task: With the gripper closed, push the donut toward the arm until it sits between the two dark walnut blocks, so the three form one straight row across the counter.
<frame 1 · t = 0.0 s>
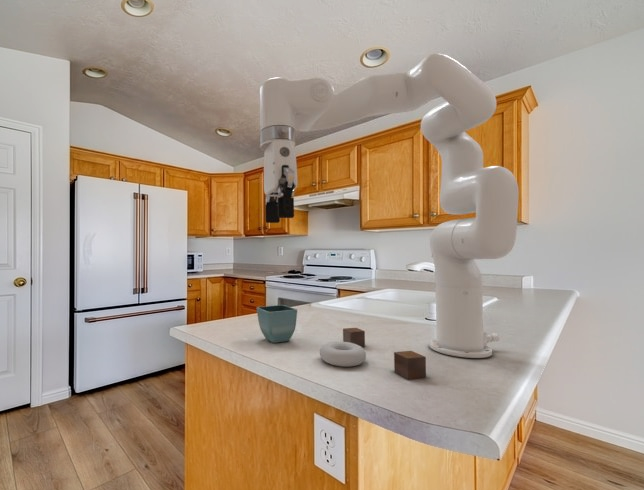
hand: (278, 220, 68), 31 cm above the countertop, tool pointing down, fingers open, 9 cm apart
walnut block 1: (353, 345, 83), on the countertop
flower pot: (277, 341, 88), on the countertop
walnut block 2: (409, 374, 62), on the countertop
donut: (342, 361, 71), on the countertop
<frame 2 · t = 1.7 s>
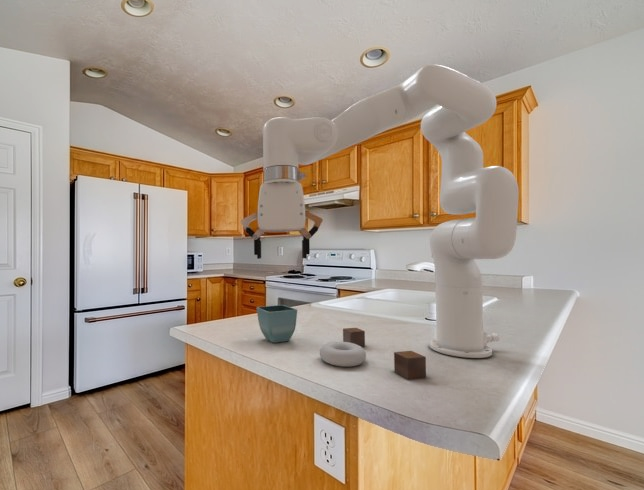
hand: (281, 258, 68), 23 cm above the countertop, tool pointing down, fingers open, 9 cm apart
nothing on the countertop moved.
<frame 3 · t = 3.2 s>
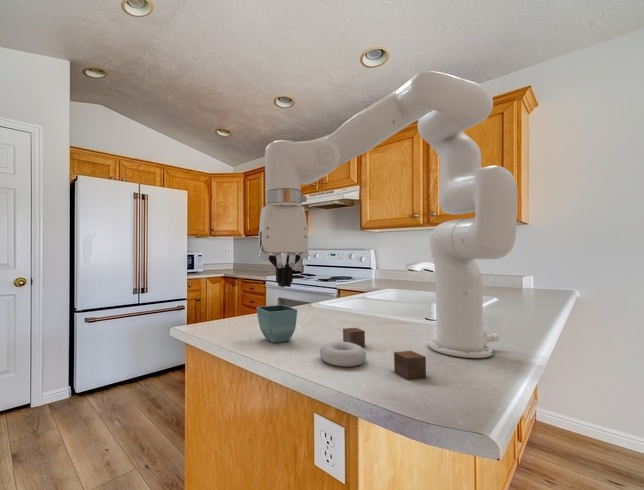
hand: (284, 286, 68), 17 cm above the countertop, tool pointing down, fingers closed
nothing on the countertop moved.
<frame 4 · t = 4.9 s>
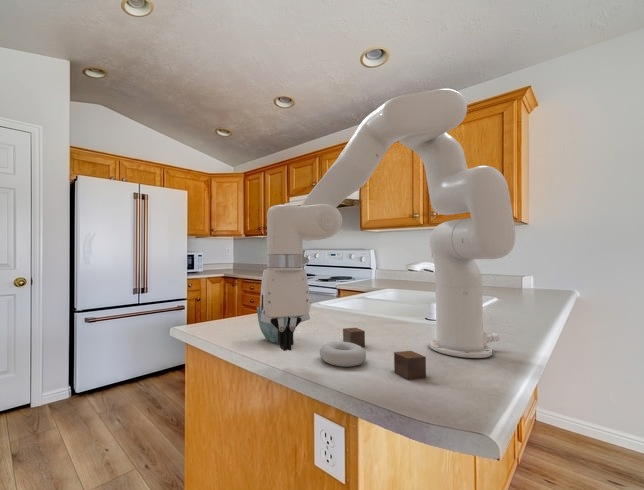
hand: (285, 348, 68), 4 cm above the countertop, tool pointing down, fingers closed
nothing on the countertop moved.
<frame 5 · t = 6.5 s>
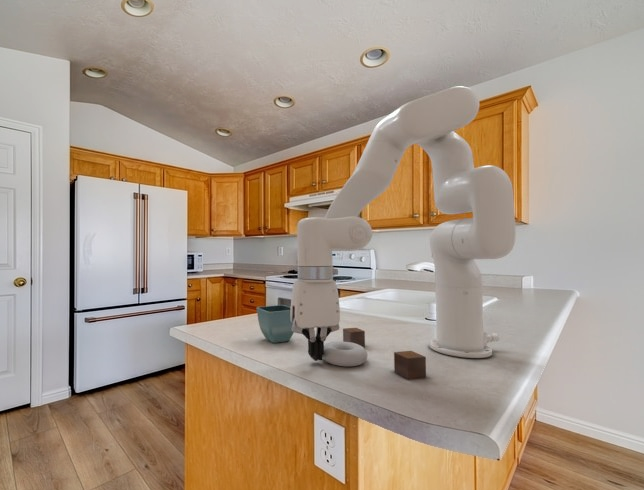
hand: (316, 358, 69), 1 cm above the countertop, tool pointing down, fingers closed
donut: (343, 361, 71), on the countertop, touching gripper
everything else where it was.
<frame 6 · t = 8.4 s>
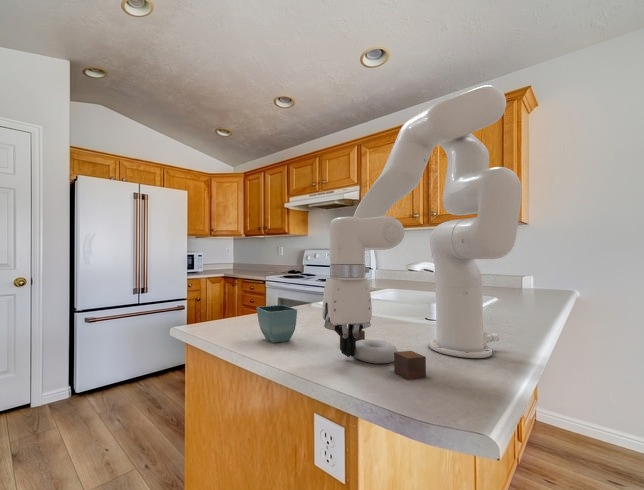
hand: (347, 354, 71), 1 cm above the countertop, tool pointing down, fingers closed
donut: (374, 359, 72), on the countertop, touching gripper
everything else where it was.
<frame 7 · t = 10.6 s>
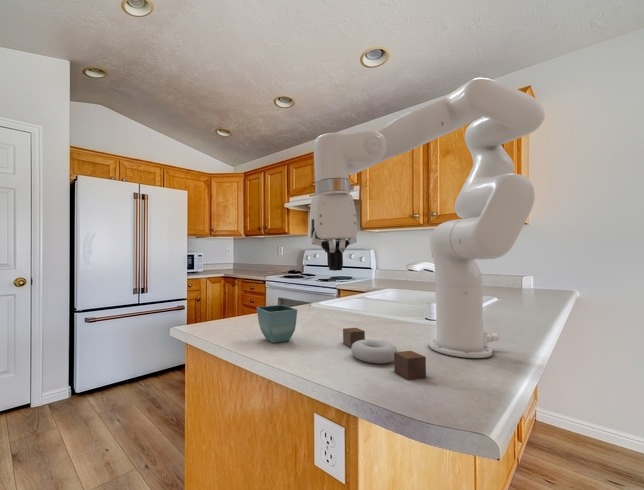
hand: (335, 270, 73), 20 cm above the countertop, tool pointing down, fingers closed
donut: (374, 359, 72), on the countertop
everything else where it was.
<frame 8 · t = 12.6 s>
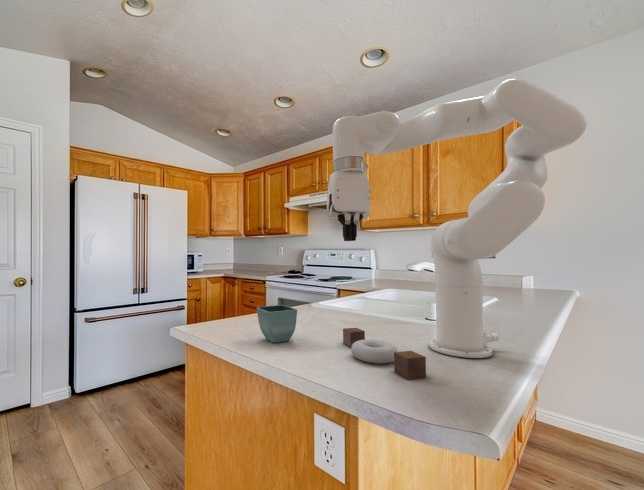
hand: (349, 240, 80), 27 cm above the countertop, tool pointing down, fingers closed
nothing on the countertop moved.
at the end: donut 0.3 cm from the target spot, on the countertop; walnut block 2 moved 0.0 cm from its start; walnut block 1 moved 0.0 cm from its start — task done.
